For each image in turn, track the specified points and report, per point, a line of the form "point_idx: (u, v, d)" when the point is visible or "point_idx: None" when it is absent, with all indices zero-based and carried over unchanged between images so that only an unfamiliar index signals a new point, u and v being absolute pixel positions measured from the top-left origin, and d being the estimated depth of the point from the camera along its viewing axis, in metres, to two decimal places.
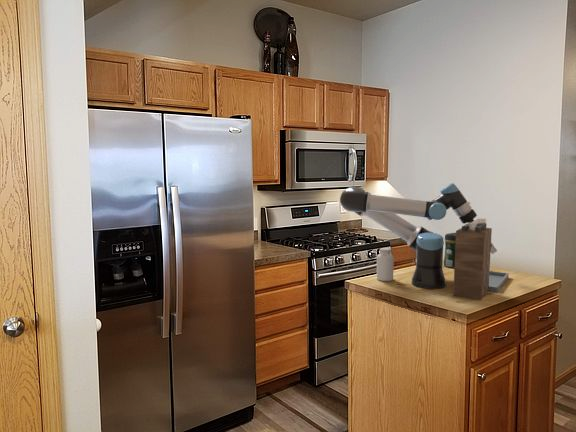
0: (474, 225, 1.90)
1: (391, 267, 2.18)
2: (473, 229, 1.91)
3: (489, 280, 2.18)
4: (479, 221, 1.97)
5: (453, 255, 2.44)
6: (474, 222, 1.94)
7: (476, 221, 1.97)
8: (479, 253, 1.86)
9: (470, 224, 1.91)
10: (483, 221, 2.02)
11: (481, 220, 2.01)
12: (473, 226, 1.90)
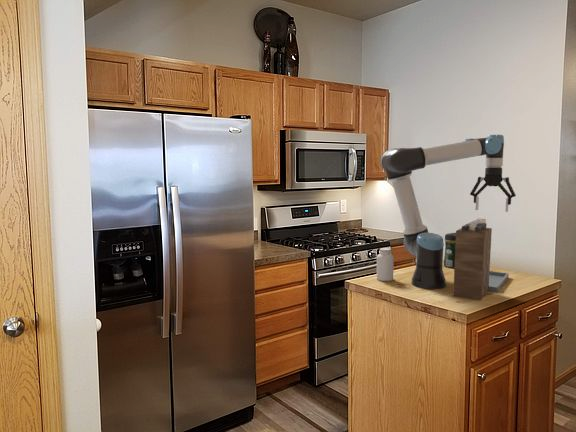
0: (474, 225, 1.90)
1: (391, 267, 2.18)
2: (473, 229, 1.91)
3: (489, 280, 2.18)
4: (479, 221, 1.97)
5: (453, 255, 2.44)
6: (474, 222, 1.94)
7: (476, 221, 1.97)
8: (479, 253, 1.86)
9: (470, 224, 1.91)
10: (483, 221, 2.02)
11: (481, 220, 2.01)
12: (473, 226, 1.90)
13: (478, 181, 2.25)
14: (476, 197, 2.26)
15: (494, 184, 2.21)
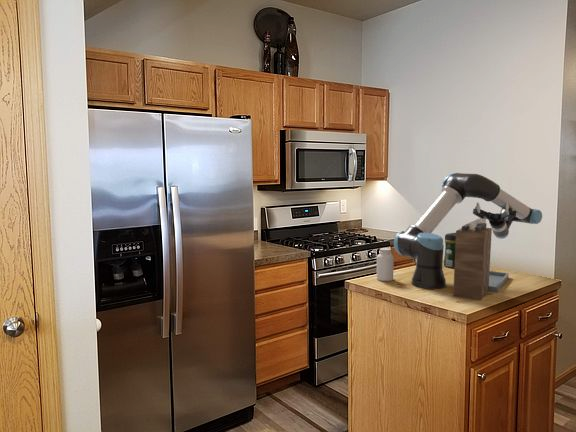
0: (474, 225, 1.90)
1: (391, 267, 2.18)
2: (473, 229, 1.91)
3: (489, 280, 2.18)
4: (479, 221, 1.97)
5: (453, 255, 2.44)
6: (474, 222, 1.94)
7: (476, 221, 1.97)
8: (479, 253, 1.86)
9: (470, 224, 1.91)
10: (483, 221, 2.02)
11: (481, 220, 2.01)
12: (473, 226, 1.90)
13: None
14: None
15: None
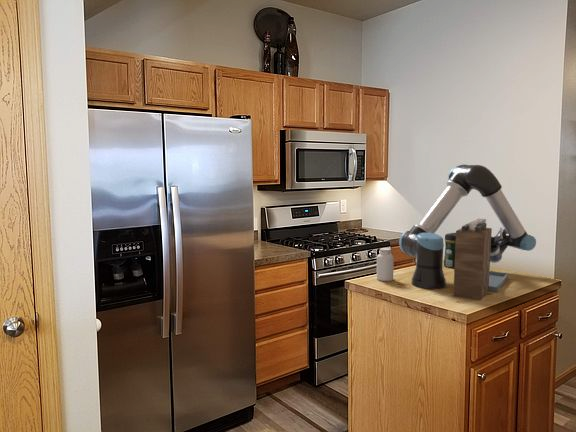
0: (474, 225, 1.90)
1: (391, 267, 2.18)
2: (473, 229, 1.91)
3: (489, 280, 2.18)
4: (479, 221, 1.97)
5: (453, 255, 2.44)
6: (474, 222, 1.94)
7: (476, 221, 1.97)
8: (479, 253, 1.86)
9: (470, 224, 1.91)
10: (483, 221, 2.02)
11: (481, 220, 2.01)
12: (473, 226, 1.90)
13: None
14: None
15: None
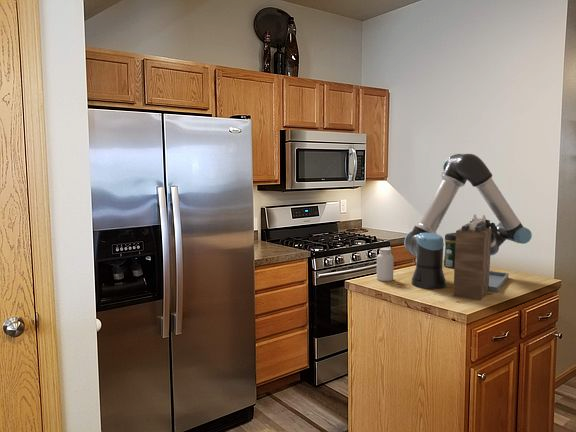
0: (474, 225, 1.90)
1: (391, 267, 2.18)
2: (473, 229, 1.91)
3: (489, 280, 2.18)
4: (479, 221, 1.97)
5: (453, 255, 2.44)
6: (474, 222, 1.94)
7: (476, 221, 1.97)
8: (479, 253, 1.86)
9: (470, 224, 1.91)
10: None
11: (481, 220, 2.01)
12: (473, 226, 1.90)
13: None
14: None
15: None
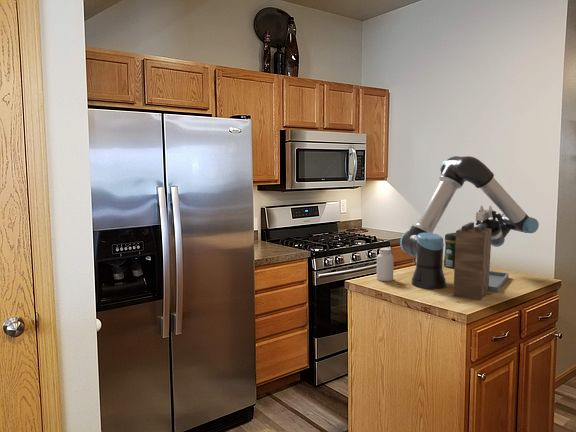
0: (481, 215, 1.96)
1: (391, 267, 2.18)
2: (480, 219, 1.96)
3: (489, 280, 2.18)
4: (486, 212, 2.03)
5: (453, 255, 2.44)
6: (481, 212, 2.00)
7: None
8: (479, 253, 1.86)
9: (477, 214, 1.97)
10: None
11: (488, 211, 2.06)
12: (480, 216, 1.96)
13: None
14: None
15: None
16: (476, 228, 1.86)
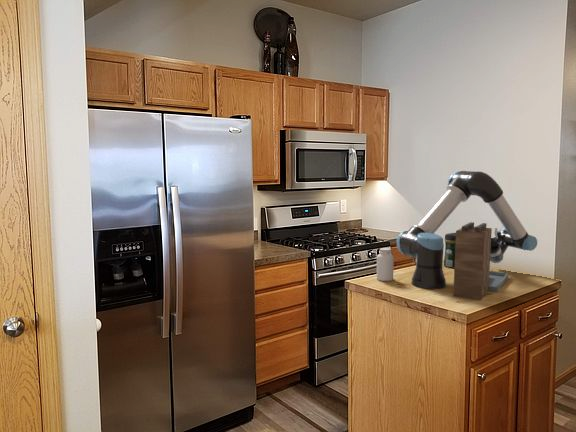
0: None
1: (391, 267, 2.18)
2: None
3: (489, 280, 2.18)
4: None
5: (453, 255, 2.44)
6: None
7: None
8: (479, 253, 1.86)
9: None
10: None
11: None
12: None
13: None
14: None
15: None
16: (476, 228, 1.86)
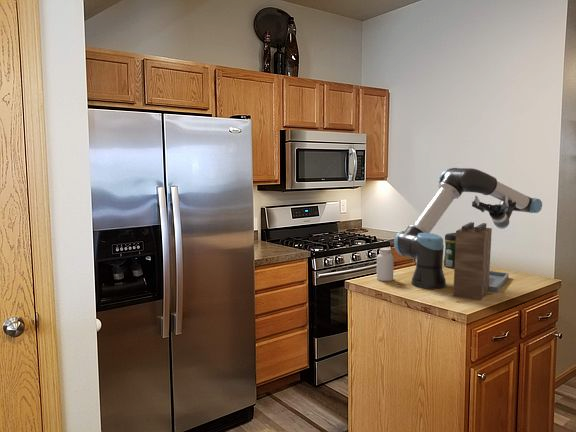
0: None
1: (391, 267, 2.18)
2: None
3: (489, 280, 2.18)
4: None
5: (453, 255, 2.44)
6: None
7: None
8: (479, 253, 1.86)
9: None
10: None
11: None
12: None
13: None
14: None
15: None
16: (476, 228, 1.86)
